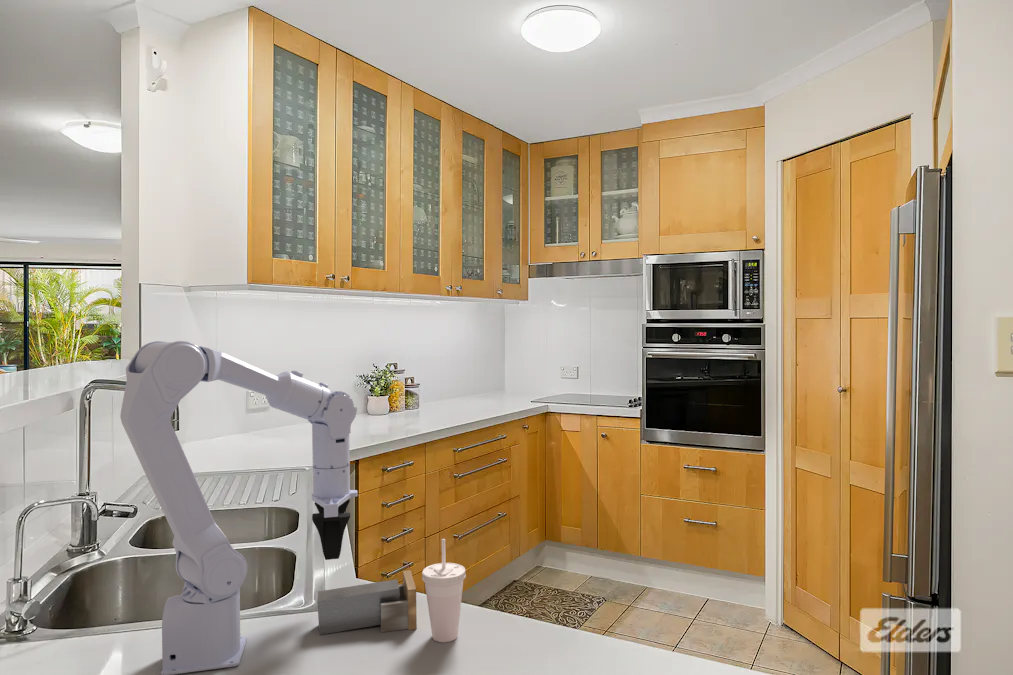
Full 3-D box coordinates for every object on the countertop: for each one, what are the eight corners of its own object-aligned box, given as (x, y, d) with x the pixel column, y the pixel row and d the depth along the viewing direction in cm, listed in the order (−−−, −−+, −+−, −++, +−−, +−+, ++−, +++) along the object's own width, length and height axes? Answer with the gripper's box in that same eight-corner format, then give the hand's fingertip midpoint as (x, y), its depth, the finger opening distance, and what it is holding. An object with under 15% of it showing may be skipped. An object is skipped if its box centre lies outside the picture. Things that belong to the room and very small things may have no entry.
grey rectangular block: (399, 610, 100) (397, 579, 100) (401, 621, 96) (399, 588, 96) (320, 623, 97) (318, 591, 97) (319, 634, 93) (317, 601, 93)
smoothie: (466, 624, 96) (465, 532, 96) (467, 645, 89) (465, 546, 89) (424, 627, 95) (422, 534, 95) (421, 648, 89) (419, 548, 89)
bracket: (381, 633, 94) (380, 593, 94) (378, 611, 101) (377, 573, 101) (416, 629, 95) (416, 589, 95) (411, 607, 103) (410, 570, 103)
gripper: (358, 473, 95) (359, 563, 95) (356, 455, 109) (357, 534, 109) (309, 476, 93) (310, 568, 93) (313, 458, 107) (314, 538, 107)
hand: (332, 550), depth 101 cm, fingers open, 7 cm apart
